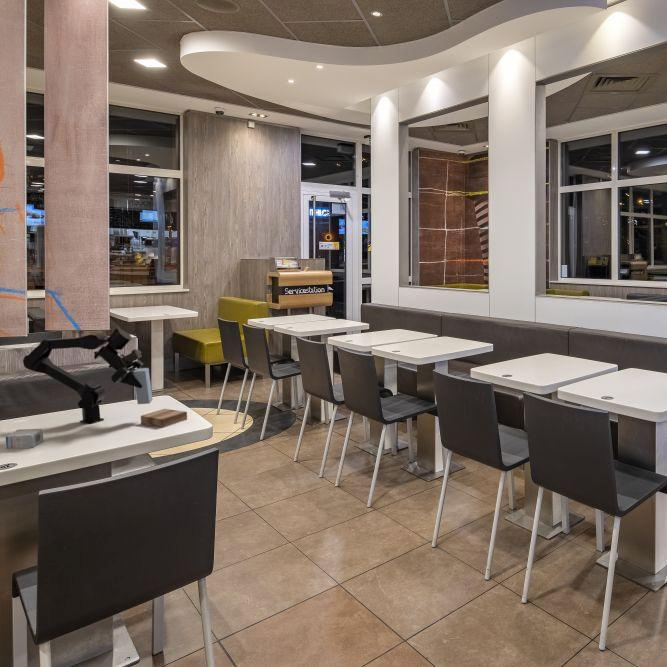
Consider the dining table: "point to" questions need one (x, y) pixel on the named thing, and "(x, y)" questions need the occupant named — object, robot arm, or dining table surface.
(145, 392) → the pillar block
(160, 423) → the walnut plinth
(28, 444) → the medicine box
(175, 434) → the dining table surface
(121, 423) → the dining table surface
